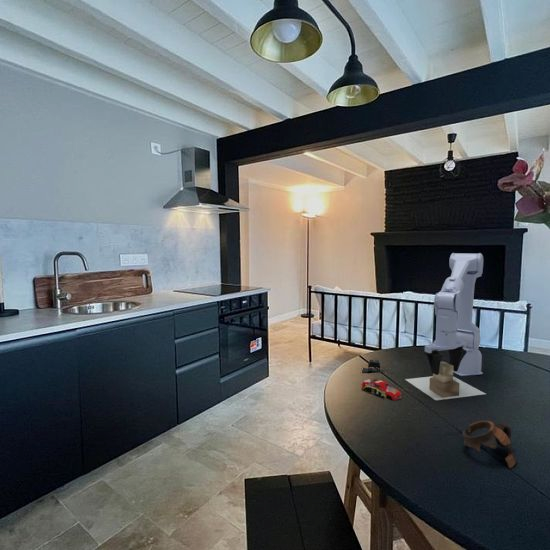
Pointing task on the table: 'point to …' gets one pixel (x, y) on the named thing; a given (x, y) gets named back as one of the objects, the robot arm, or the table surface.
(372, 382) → the race car
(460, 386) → the board
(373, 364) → the black angular block
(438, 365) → the robot arm
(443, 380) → the maple block
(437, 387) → the walnut block
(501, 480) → the table surface
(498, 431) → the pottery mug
